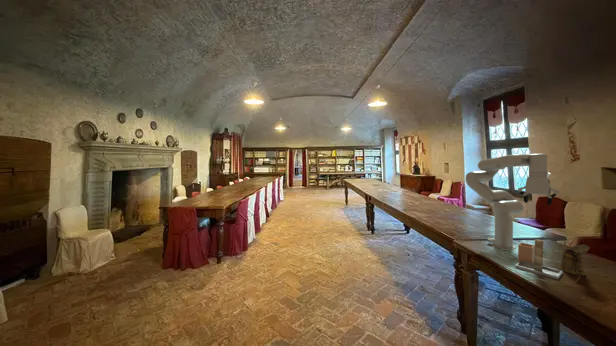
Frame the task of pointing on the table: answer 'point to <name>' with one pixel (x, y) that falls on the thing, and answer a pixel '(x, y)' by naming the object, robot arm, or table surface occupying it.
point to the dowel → (538, 255)
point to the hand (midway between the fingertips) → (537, 203)
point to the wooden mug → (574, 259)
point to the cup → (526, 252)
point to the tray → (545, 271)
